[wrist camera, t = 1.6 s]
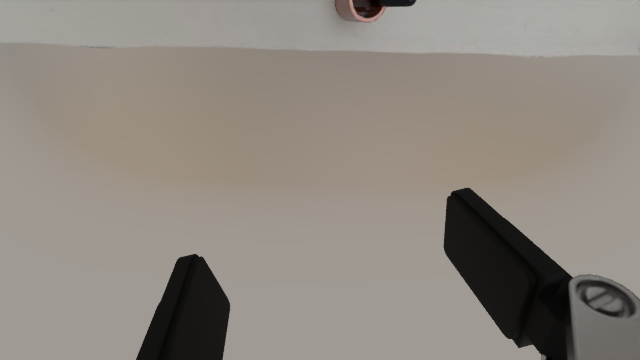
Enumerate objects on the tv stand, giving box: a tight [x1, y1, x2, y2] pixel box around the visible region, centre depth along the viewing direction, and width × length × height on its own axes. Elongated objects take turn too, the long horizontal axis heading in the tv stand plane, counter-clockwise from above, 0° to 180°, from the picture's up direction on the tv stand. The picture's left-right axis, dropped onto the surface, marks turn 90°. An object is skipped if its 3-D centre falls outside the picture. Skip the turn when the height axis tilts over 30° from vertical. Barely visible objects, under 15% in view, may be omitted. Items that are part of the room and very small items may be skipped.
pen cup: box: [335, 0, 386, 22], centre depth 33 cm, size 4×4×8 cm
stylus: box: [352, 0, 416, 7], centre depth 31 cm, size 1×1×14 cm
